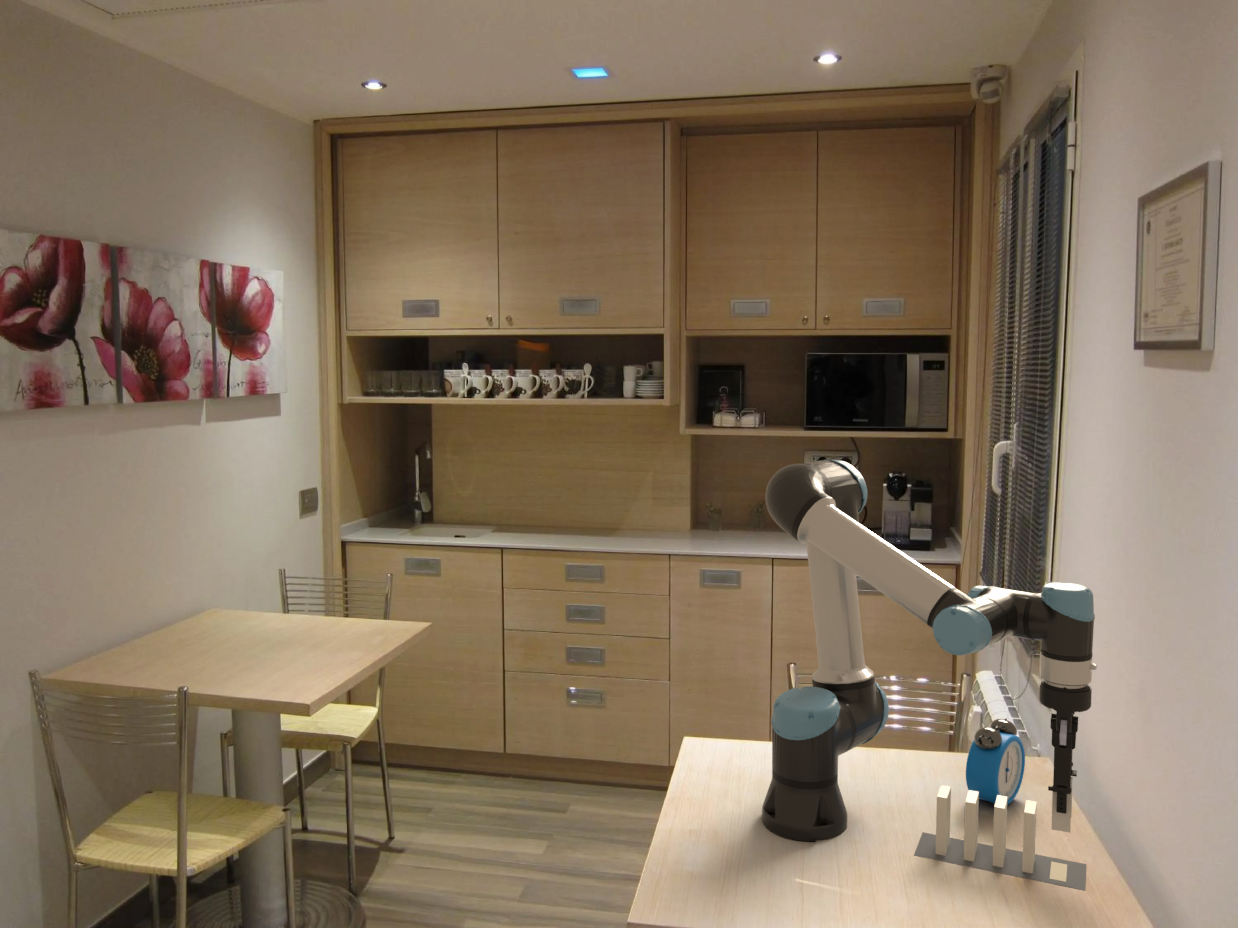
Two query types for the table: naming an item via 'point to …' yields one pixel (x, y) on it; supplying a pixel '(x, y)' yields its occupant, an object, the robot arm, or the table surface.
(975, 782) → the alarm clock
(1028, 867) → the domino
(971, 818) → the domino
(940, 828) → the domino
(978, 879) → the table surface
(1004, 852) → the domino
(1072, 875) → the mat
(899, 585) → the robot arm
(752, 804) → the table surface
